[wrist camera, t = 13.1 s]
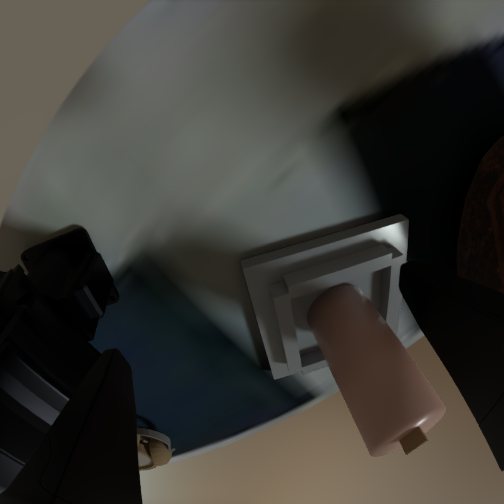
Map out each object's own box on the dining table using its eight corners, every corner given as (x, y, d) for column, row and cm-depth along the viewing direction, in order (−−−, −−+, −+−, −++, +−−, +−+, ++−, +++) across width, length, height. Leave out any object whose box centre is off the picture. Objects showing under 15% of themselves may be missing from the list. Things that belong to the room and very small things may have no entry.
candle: (333, 340, 28) (399, 467, 16) (293, 321, 25) (360, 473, 13) (375, 299, 26) (462, 421, 14) (339, 273, 24) (440, 419, 12)
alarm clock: (63, 448, 29) (117, 442, 24) (70, 419, 33) (124, 403, 28) (127, 473, 35) (193, 469, 30) (130, 447, 39) (194, 435, 34)
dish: (271, 370, 30) (277, 391, 28) (239, 260, 23) (246, 281, 20) (391, 327, 31) (403, 343, 28) (400, 213, 24) (419, 227, 21)
